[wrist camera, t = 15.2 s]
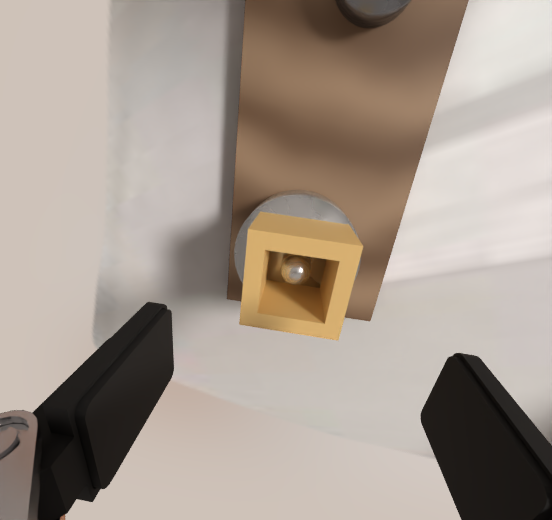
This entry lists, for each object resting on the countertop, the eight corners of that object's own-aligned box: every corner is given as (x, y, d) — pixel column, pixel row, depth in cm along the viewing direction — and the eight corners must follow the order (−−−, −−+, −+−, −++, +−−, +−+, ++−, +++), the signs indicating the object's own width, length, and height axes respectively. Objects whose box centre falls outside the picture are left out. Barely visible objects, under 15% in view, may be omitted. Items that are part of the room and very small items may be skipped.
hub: (247, 181, 20) (227, 192, 15) (365, 198, 20) (389, 214, 15) (239, 286, 24) (220, 325, 18) (340, 301, 23) (351, 345, 18)
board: (261, -168, 15) (257, -201, 13) (501, -146, 14) (523, -178, 13) (231, 291, 26) (226, 299, 24) (366, 312, 25) (370, 321, 24)
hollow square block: (260, 211, 18) (248, 228, 14) (349, 224, 18) (363, 246, 14) (252, 289, 20) (239, 324, 16) (330, 301, 20) (338, 340, 16)
